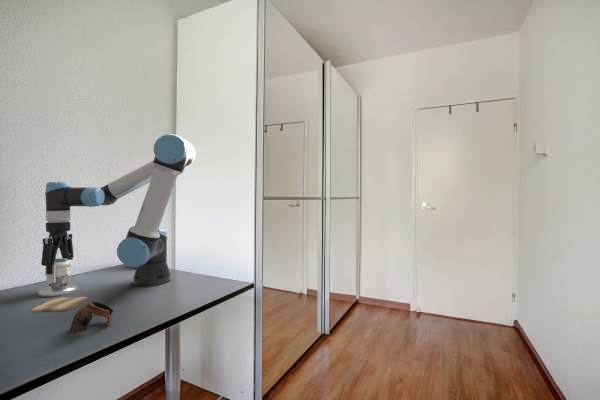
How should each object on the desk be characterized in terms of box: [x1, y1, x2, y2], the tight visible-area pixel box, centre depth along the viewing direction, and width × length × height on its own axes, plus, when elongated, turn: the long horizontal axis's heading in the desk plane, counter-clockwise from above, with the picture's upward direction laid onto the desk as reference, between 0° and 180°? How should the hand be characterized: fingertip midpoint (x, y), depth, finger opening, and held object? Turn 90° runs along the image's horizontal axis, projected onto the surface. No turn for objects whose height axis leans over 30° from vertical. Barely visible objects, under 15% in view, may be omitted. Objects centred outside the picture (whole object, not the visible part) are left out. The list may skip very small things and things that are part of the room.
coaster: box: [31, 296, 88, 313], centre depth 105 cm, size 11×11×1 cm
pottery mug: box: [69, 300, 114, 334], centre depth 87 cm, size 12×10×8 cm
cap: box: [44, 257, 73, 278], centre depth 118 cm, size 8×8×6 cm
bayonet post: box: [38, 275, 79, 298], centre depth 118 cm, size 12×12×10 cm
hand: (58, 279), depth 118 cm, fingers closed on cap, 8 cm apart
